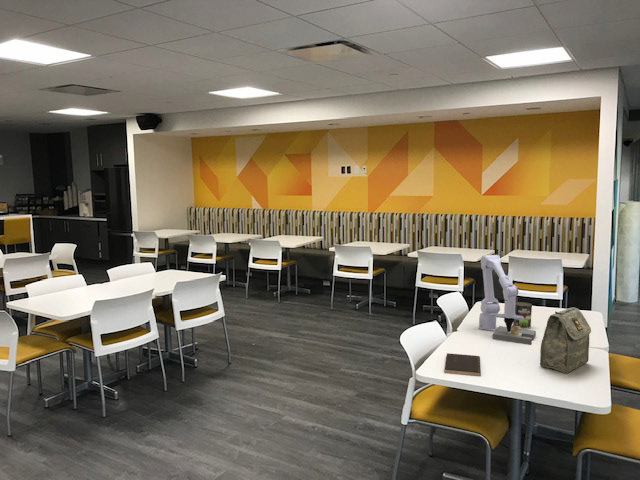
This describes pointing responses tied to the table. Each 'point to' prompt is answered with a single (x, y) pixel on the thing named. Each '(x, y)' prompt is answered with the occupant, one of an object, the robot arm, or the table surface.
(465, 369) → the hardcover book
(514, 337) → the trap board
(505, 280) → the robot arm
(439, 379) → the table surface
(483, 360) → the table surface
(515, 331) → the maple block
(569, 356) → the bag
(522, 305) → the coffee can
